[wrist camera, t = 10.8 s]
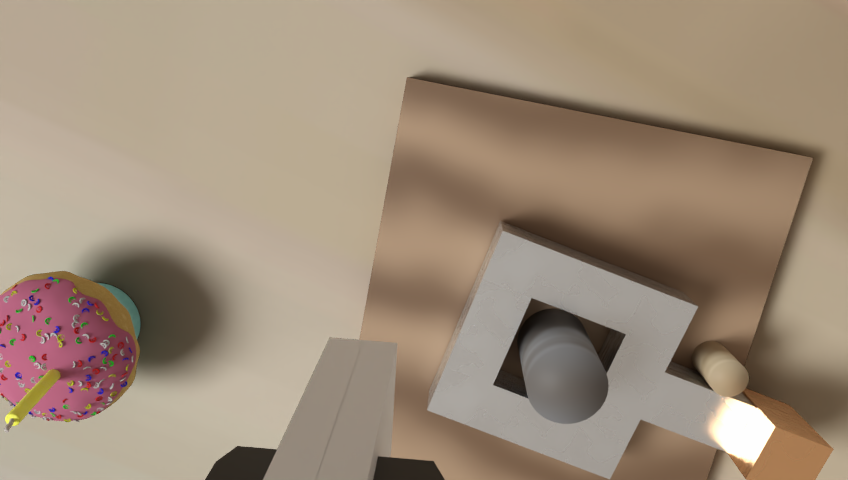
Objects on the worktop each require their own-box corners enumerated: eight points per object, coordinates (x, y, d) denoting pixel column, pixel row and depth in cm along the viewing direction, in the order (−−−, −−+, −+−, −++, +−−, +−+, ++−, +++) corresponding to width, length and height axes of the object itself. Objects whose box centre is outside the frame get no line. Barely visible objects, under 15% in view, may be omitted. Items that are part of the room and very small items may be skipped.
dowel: (697, 337, 39) (716, 358, 36) (732, 344, 39) (753, 366, 36) (687, 369, 39) (705, 392, 36) (721, 376, 39) (742, 400, 36)
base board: (408, 77, 37) (395, 76, 30) (802, 155, 37) (880, 172, 30) (334, 485, 44) (309, 563, 37) (671, 555, 43) (711, 647, 36)
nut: (429, 390, 40) (424, 431, 35) (500, 221, 38) (505, 240, 33) (732, 505, 41) (766, 560, 36) (823, 346, 38) (872, 383, 33)
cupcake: (187, 286, 41) (76, 367, 29) (148, 404, 43) (30, 524, 31) (53, 233, 41) (-112, 293, 29) (20, 354, 43) (-147, 456, 31)
